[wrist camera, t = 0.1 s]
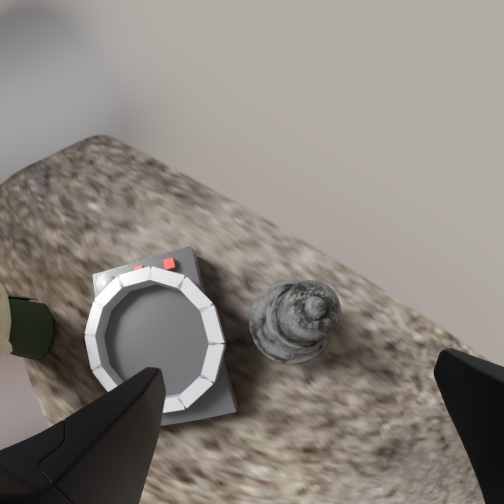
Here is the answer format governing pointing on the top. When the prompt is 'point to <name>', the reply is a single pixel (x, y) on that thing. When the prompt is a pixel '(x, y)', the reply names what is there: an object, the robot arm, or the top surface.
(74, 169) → the top surface
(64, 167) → the top surface
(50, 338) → the character mug
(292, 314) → the grey stone finial
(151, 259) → the faceted bowl on plate
